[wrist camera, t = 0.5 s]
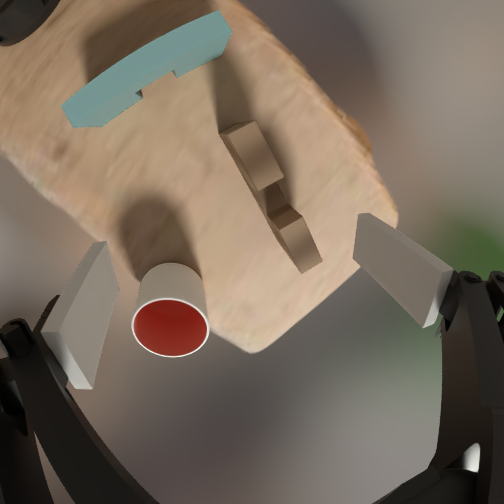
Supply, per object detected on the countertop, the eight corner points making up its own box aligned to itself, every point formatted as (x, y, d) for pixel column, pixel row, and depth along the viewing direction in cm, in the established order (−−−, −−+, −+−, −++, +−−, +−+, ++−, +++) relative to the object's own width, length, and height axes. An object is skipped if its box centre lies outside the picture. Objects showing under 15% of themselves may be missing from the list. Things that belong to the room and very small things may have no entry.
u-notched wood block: (218, 133, 34) (227, 135, 25) (238, 122, 34) (255, 120, 25) (278, 241, 42) (301, 273, 33) (295, 231, 42) (322, 261, 33)
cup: (166, 246, 39) (159, 282, 30) (217, 284, 43) (225, 325, 35) (129, 291, 41) (117, 333, 32) (178, 323, 45) (179, 367, 36)
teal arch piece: (102, 126, 30) (73, 127, 21) (92, 109, 29) (60, 105, 20) (221, 55, 29) (232, 31, 21) (211, 38, 28) (218, 10, 19)
